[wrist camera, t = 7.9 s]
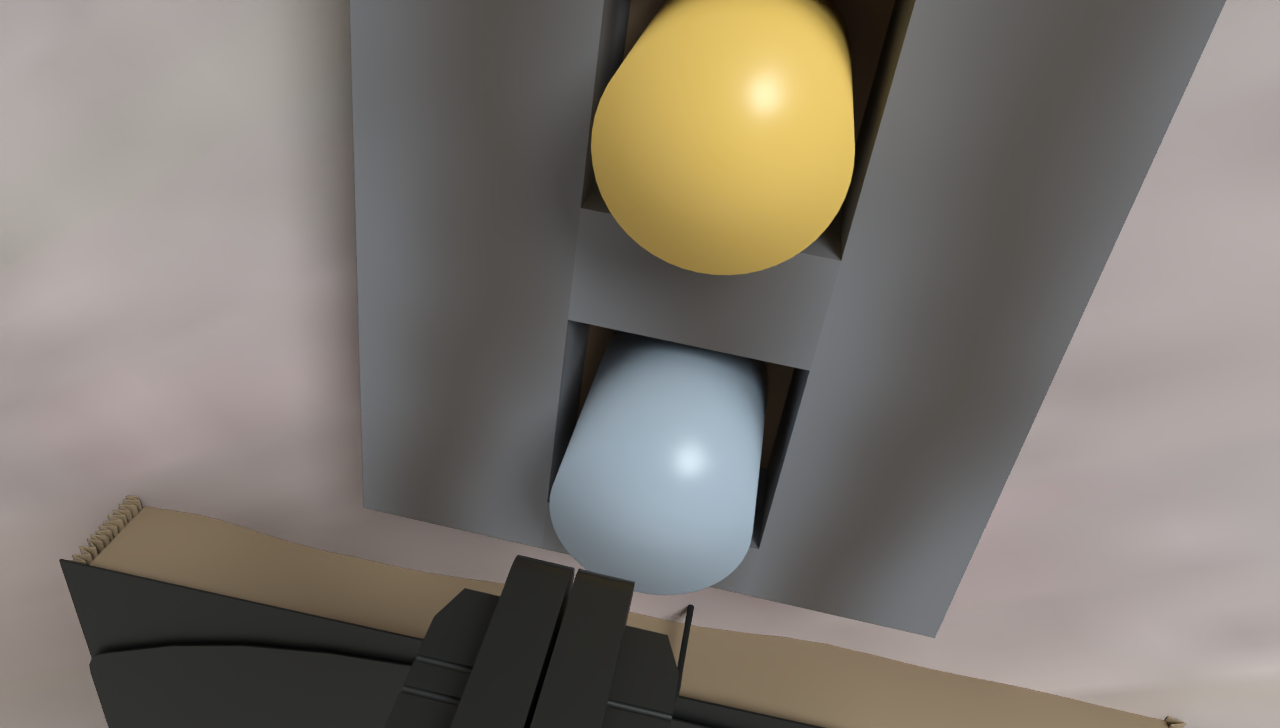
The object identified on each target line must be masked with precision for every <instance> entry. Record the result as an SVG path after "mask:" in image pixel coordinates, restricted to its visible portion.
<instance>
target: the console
mask: <svg viewBox="0 0 1280 728" xmlns="http://www.w3.org/2000/svg"><path fill="white" fill-rule="evenodd" d="M664 1H665V0H350V37H351V73H352V109H353V145H354V181H355V218H356V254H357V290H358V326H359V363H360V399H361V435H362V471H363V508H368V509H372V510H376V511H381V512H385V513H389V514H394V515H398V516H403V517H407V518H411V519H416V520H420V521H424V522H429V523H433V524H438V525H442V526H446V527H451V528H455V529H460V530H464V531H468V532H473V533H477V534H481V535H486V536H490V537H495V538H499V539H503V540H508V541H512V542H517V543H521V544H525V545H530V546H534V547H538V548H543V549H547V550H552V551H556V552H560V553H565V554H569V555H570V553H569V552H568V551H567V550H566V549H565V547H564V546H563V544H562V543H561V541H560V540H559V538H558V536H557V534H556V532H555V530H554V527H553V524H552V520H551V516H550V509H549V506H550V494H551V489H552V486H553V484H554V481H555V478H556V476H557V473H558V471H559V468H560V465H561V463H562V460H563V458H564V455H565V453H566V450H567V447H568V445H569V442H570V440H571V437H572V435H573V432H574V429H575V427H576V424H577V422H578V419H579V417H580V414H581V411H582V409H583V406H584V404H585V401H586V399H587V396H588V393H589V391H590V388H591V386H592V383H593V380H594V378H595V375H596V373H597V370H598V368H599V365H600V362H601V360H602V357H603V355H604V352H605V350H606V347H607V345H608V343H609V341H610V340H611V338H612V337H613V335H614V334H615V333H616V332H617V331H618V330H619V331H624V332H629V333H633V334H638V335H643V336H647V337H652V338H657V339H662V340H666V341H671V342H676V343H681V344H685V345H690V346H695V347H700V348H704V349H709V350H714V351H718V352H723V353H728V354H733V355H737V356H742V357H747V358H752V359H756V360H761V361H765V365H766V368H767V373H768V380H769V382H768V397H767V406H766V415H765V424H764V433H763V442H762V452H761V461H760V470H759V479H758V488H757V497H756V506H755V515H754V524H753V533H752V538H751V543H750V546H749V549H748V551H747V554H746V555H745V557H744V559H743V560H742V562H741V563H740V564H739V565H738V567H737V568H736V569H735V570H734V571H733V572H732V573H731V574H729V575H728V576H727V577H726V578H724V579H722V580H721V581H719V582H718V583H716V584H714V585H712V586H710V587H714V588H718V589H722V590H727V591H731V592H736V593H740V594H744V595H749V596H753V597H757V598H762V599H766V600H771V601H775V602H779V603H784V604H788V605H793V606H797V607H801V608H806V609H810V610H814V611H819V612H823V613H828V614H832V615H836V616H841V617H845V618H849V619H854V620H858V621H863V622H867V623H871V624H876V625H880V626H885V627H889V628H893V629H898V630H902V631H906V632H911V633H915V634H920V635H924V636H928V637H933V638H935V636H936V634H937V632H938V630H939V627H940V625H941V623H942V621H943V619H944V617H945V614H946V612H947V610H948V608H949V606H950V603H951V601H952V599H953V597H954V595H955V592H956V590H957V588H958V586H959V584H960V582H961V579H962V577H963V575H964V573H965V571H966V568H967V566H968V564H969V562H970V560H971V557H972V555H973V553H974V551H975V549H976V547H977V544H978V542H979V540H980V538H981V536H982V533H983V531H984V529H985V527H986V525H987V522H988V520H989V518H990V516H991V514H992V512H993V509H994V507H995V505H996V503H997V501H998V498H999V496H1000V494H1001V492H1002V490H1003V487H1004V485H1005V483H1006V481H1007V479H1008V477H1009V474H1010V472H1011V470H1012V468H1013V466H1014V463H1015V461H1016V459H1017V457H1018V455H1019V452H1020V450H1021V448H1022V446H1023V444H1024V442H1025V439H1026V437H1027V435H1028V433H1029V431H1030V428H1031V426H1032V424H1033V422H1034V420H1035V417H1036V415H1037V413H1038V411H1039V409H1040V407H1041V404H1042V402H1043V400H1044V398H1045V396H1046V393H1047V391H1048V389H1049V387H1050V385H1051V382H1052V380H1053V378H1054V376H1055V374H1056V372H1057V369H1058V367H1059V365H1060V363H1061V361H1062V358H1063V356H1064V354H1065V352H1066V350H1067V347H1068V345H1069V343H1070V341H1071V339H1072V337H1073V334H1074V332H1075V330H1076V328H1077V326H1078V323H1079V321H1080V319H1081V317H1082V315H1083V312H1084V310H1085V308H1086V306H1087V304H1088V302H1089V299H1090V297H1091V295H1092V293H1093V291H1094V288H1095V286H1096V284H1097V282H1098V280H1099V277H1100V275H1101V273H1102V271H1103V269H1104V267H1105V264H1106V262H1107V260H1108V258H1109V256H1110V253H1111V251H1112V249H1113V247H1114V245H1115V242H1116V240H1117V238H1118V236H1119V234H1120V232H1121V229H1122V227H1123V225H1124V223H1125V221H1126V218H1127V216H1128V214H1129V212H1130V210H1131V207H1132V205H1133V203H1134V201H1135V199H1136V197H1137V194H1138V192H1139V190H1140V188H1141V186H1142V183H1143V181H1144V179H1145V177H1146V175H1147V172H1148V170H1149V168H1150V166H1151V164H1152V161H1153V159H1154V157H1155V155H1156V153H1157V151H1158V148H1159V146H1160V144H1161V142H1162V140H1163V137H1164V135H1165V133H1166V131H1167V129H1168V126H1169V124H1170V122H1171V120H1172V118H1173V116H1174V113H1175V111H1176V109H1177V107H1178V105H1179V102H1180V100H1181V98H1182V96H1183V94H1184V91H1185V89H1186V87H1187V85H1188V83H1189V81H1190V78H1191V76H1192V74H1193V72H1194V70H1195V67H1196V65H1197V63H1198V61H1199V59H1200V56H1201V54H1202V52H1203V50H1204V48H1205V46H1206V43H1207V41H1208V39H1209V37H1210V35H1211V32H1212V30H1213V28H1214V26H1215V24H1216V21H1217V19H1218V17H1219V15H1220V13H1221V11H1222V8H1223V6H1224V4H1225V2H1226V0H833V2H834V3H835V5H836V6H837V8H838V10H839V12H840V14H841V16H842V18H843V20H844V23H845V26H846V29H847V32H848V36H849V41H850V47H851V62H852V88H853V114H854V140H855V156H854V168H853V173H852V178H851V183H850V186H849V188H848V191H847V194H846V197H845V199H844V201H843V203H842V205H841V207H840V209H839V211H838V213H837V215H836V216H835V217H834V219H833V220H832V222H831V223H830V225H829V226H828V227H827V228H826V230H825V231H824V232H823V233H822V234H821V235H820V236H819V237H818V238H817V239H816V240H815V241H814V242H813V243H812V244H810V245H809V246H808V247H807V248H806V249H804V250H803V251H801V252H800V253H798V254H797V255H795V256H794V257H792V258H790V259H788V260H786V261H784V262H782V263H780V264H778V265H776V266H773V267H770V268H767V269H764V270H761V271H756V272H752V273H747V274H738V275H712V274H705V273H698V272H694V271H690V270H686V269H683V268H680V267H677V266H675V265H672V264H670V263H667V262H666V261H664V260H662V259H660V258H658V257H656V256H654V255H653V254H651V253H650V252H648V251H647V250H646V249H644V248H643V247H641V246H640V245H639V244H638V243H637V242H635V241H634V240H633V239H632V238H631V237H630V236H629V235H628V234H627V233H626V232H625V231H624V230H623V228H622V227H621V226H620V225H619V224H618V223H617V221H616V220H615V218H614V217H613V215H612V214H611V212H610V211H609V209H608V207H607V205H606V203H605V201H604V200H603V198H602V196H601V193H600V190H599V187H598V185H597V182H596V178H595V174H594V169H593V165H592V153H591V139H592V128H593V123H594V118H595V114H596V111H597V108H598V105H599V102H600V99H601V97H602V95H603V93H604V91H605V89H606V87H607V85H608V83H609V82H610V80H611V79H612V77H613V76H614V74H615V73H616V71H617V70H618V68H619V67H620V65H621V64H622V63H623V61H624V60H625V58H626V57H627V55H628V54H629V52H630V51H631V49H632V48H633V47H634V45H635V44H636V42H637V41H638V39H639V38H640V36H641V35H642V33H643V32H644V31H645V29H646V28H647V26H648V25H649V23H650V22H651V20H652V19H653V17H654V16H655V15H656V13H657V12H658V10H659V9H660V7H661V6H662V4H663V3H664Z"/></svg>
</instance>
